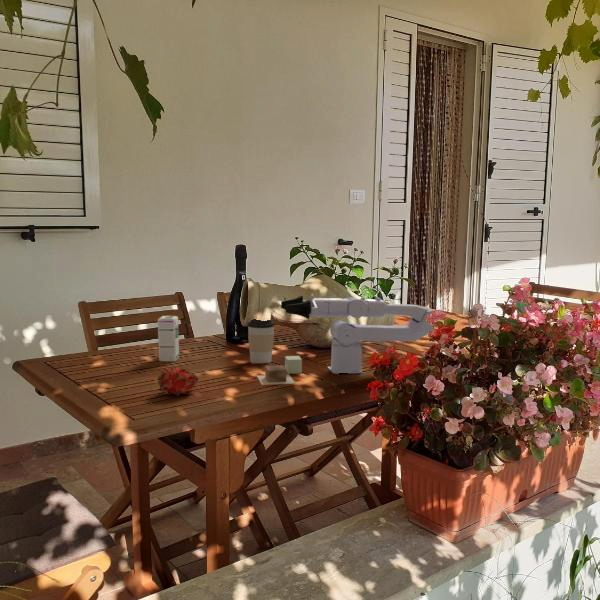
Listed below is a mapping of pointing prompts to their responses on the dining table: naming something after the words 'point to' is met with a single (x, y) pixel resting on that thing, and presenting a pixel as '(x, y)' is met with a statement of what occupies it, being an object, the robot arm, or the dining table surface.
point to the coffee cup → (260, 340)
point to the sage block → (293, 364)
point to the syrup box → (168, 338)
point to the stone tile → (265, 382)
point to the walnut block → (275, 373)
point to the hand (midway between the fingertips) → (283, 306)
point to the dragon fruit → (177, 381)
